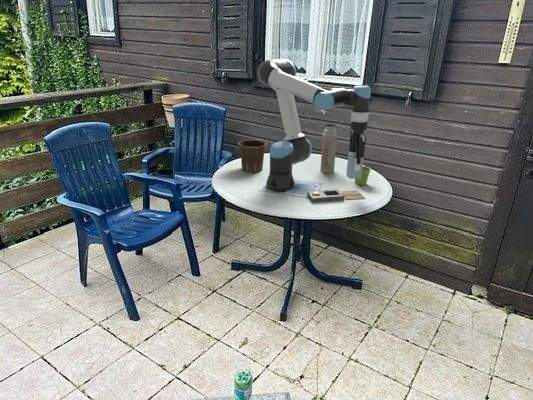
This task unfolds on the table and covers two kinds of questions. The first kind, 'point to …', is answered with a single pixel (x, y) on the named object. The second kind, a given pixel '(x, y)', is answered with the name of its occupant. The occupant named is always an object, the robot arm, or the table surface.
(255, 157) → the plant pot
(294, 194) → the table surface
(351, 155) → the light blue tall block
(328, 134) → the thermos bottle
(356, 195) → the walnut board
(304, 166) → the table surface
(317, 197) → the dark grey holder
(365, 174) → the plant pot
